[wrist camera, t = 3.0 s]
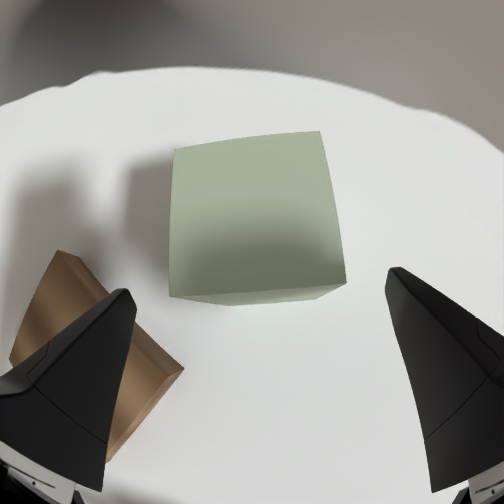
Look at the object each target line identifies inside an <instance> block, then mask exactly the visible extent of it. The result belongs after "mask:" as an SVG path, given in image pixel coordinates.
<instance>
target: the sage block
mask: <svg viewBox="0 0 504 504" xmlns="http://www.w3.org/2000/svg"><path fill="white" fill-rule="evenodd" d="M346 283H347V282H346V273H345V264H344V256H343V249H342V242H341V235H340V228H339V222H338V216H337V210H336V204H335V199H334V193H333V188H332V183H331V178H330V173H329V168H328V164H327V159H326V155H325V150H324V146H323V142H322V138H321V134H320V131H313V132H296V133H283V134H272V135H263V136H254V137H246V138H238V139H231V140H224V141H218V142H211V143H205V144H200V145H194V146H189V147H184V148H179V149H174V160H173V172H172V187H171V205H170V231H169V296H170V297H175V298H181V299H187V300H193V301H199V302H205V303H212V304H219V305H225V306H236V305H252V304H267V303H279V302H291V301H302V300H313V299H317V298H319V297H321V296H323V295H325V294H327V293H329V292H331V291H333V290H335V289H337V288H338V287H340V286H342V285H344V284H346Z"/></svg>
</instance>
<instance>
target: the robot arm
mask: <svg viewBox="0 0 504 504" xmlns="http://www.w3.org/2000/svg"><path fill="white" fill-rule="evenodd" d="M385 295H386V299H387V302H388V306H389V310H390V315H391V319H392V323H393V327H394V331H395V335H396V338H397V341H398V344H399V347H400V350H401V353H402V356H403V359H404V363H405V366H406V369H407V373H408V376H409V380H410V383H411V387H412V391H413V394H414V398H415V402H416V406H417V410H418V415H419V419H420V424H421V428H422V433H423V438H424V444H425V450H426V455H427V462H428V468H429V476H430V484H431V491H432V493H435V492H437V491H440V490H443V489H446V488H448V487H451V486H453V485H456V484H458V483H461V482H463V481H465V480H468V484H469V486H468V487H466V488H464V489H462V490H460V491H459V493H458V495H457V496H456V498H455V500H454V501H453V503H452V504H504V336H502V335H501V334H499V333H498V332H496V331H495V330H493V329H492V328H491V327H489V326H488V325H486V324H485V323H484V322H482V321H481V320H480V319H478V318H476V317H475V316H474V315H473V314H471V313H470V312H468V311H467V310H466V309H464V308H463V307H461V306H460V305H458V304H457V303H456V302H454V301H453V300H451V299H450V298H448V297H447V296H445V295H444V294H442V293H441V292H439V291H438V290H436V289H435V288H433V287H432V286H430V285H429V284H427V283H426V282H424V281H423V280H421V279H420V278H418V277H416V276H415V275H413V274H412V273H410V272H409V271H407V270H405V269H404V268H402V267H393V268H390V269H389V271H388V275H387V280H386V285H385ZM136 313H137V307H136V304H135V302H134V300H133V298H132V296H131V294H130V292H129V290H128V289H126V288H120V289H116V290H115V291H113V292H112V293H111V294H109V295H108V296H106V297H105V298H104V299H102V300H101V301H100V302H98V303H97V304H96V305H94V306H93V307H92V308H90V309H89V310H88V311H86V312H85V313H84V314H82V315H81V316H80V317H79V318H77V319H76V320H75V321H73V322H72V323H71V324H69V325H68V326H67V327H66V328H64V329H63V330H62V331H61V332H59V333H58V334H57V335H55V336H54V337H53V338H52V339H51V340H50V341H48V342H47V343H45V344H44V345H43V346H42V347H40V348H39V349H38V350H37V351H35V352H34V353H33V354H32V355H30V356H29V357H27V358H26V359H25V360H23V361H22V362H21V363H19V364H18V365H17V366H15V367H14V368H13V369H11V370H10V371H9V372H7V373H6V374H4V375H2V376H0V504H85V503H84V501H83V499H82V497H81V495H80V493H79V492H78V491H76V490H74V489H75V485H76V483H78V484H80V485H83V486H85V487H88V488H90V489H93V490H95V491H98V492H102V487H103V478H104V470H105V462H106V456H107V449H108V442H109V437H110V431H111V426H112V420H113V415H114V411H115V406H116V401H117V397H118V392H119V388H120V384H121V380H122V376H123V372H124V368H125V364H126V360H127V356H128V353H129V349H130V344H131V339H132V334H133V328H134V323H135V318H136Z"/></svg>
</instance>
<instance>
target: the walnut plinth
mask: <svg viewBox="0 0 504 504" xmlns="http://www.w3.org/2000/svg"><path fill="white" fill-rule="evenodd" d="M108 295H109V293H108V292H107V291H106V290H105V288H104V287H103V286H102V285H101V284H100V283H99V281H98V280H97V279H96V278H95V277H94V275H93V274H92V273H91V272H90V271H89V269H88V268H87V267H86V266H85V264H84V263H83V262H82V260H81V259H80V258H79V257H77V256H74V255H71V254H68V253H65V252H62V251H59V250H57V252H56V253H55V255H54V257H53V259H52V261H51V262H50V264H49V266H48V268H47V270H46V272H45V274H44V276H43V278H42V279H41V281H40V284H39V286H38V288H37V290H36V292H35V294H34V296H33V298H32V300H31V303H30V305H29V307H28V309H27V312H26V314H25V316H24V319H23V321H22V324H21V326H20V329H19V332H18V334H17V337H16V340H15V342H14V345H13V348H12V351H11V354H10V357H9V360H10V362H11V364H12V366H13V368H14V367H15V366H17V365H18V364H19V363H21V362H22V361H23V360H25V359H26V358H27V357H29V356H30V355H32V354H33V353H34V352H35V351H37V350H38V349H39V348H40V347H42V346H43V345H44V344H45V343H47V342H48V341H50V340H51V339H52V338H53V337H54V336H55V335H57V334H58V333H59V332H61V331H62V330H63V329H64V328H66V327H67V326H68V325H69V324H71V323H72V322H73V321H75V320H76V319H77V318H79V317H80V316H81V315H82V314H84V313H85V312H86V311H88V310H89V309H90V308H92V307H93V306H94V305H96V304H97V303H98V302H100V301H101V300H102V299H104V298H105V297H106V296H108ZM183 370H184V368H183V367H182V366H181V365H180V364H179V363H178V362H176V361H175V360H174V359H173V358H172V357H171V356H170V355H169V354H168V353H166V352H165V351H164V350H163V349H162V348H161V347H160V346H159V345H158V344H157V343H156V342H155V341H154V340H153V339H152V338H151V337H150V336H149V335H148V334H147V333H146V332H145V331H144V330H143V329H142V328H141V327H140V326H139V325H138V324H137V323H136V322H135V323H134V328H133V334H132V339H131V344H130V349H129V353H128V356H127V360H126V364H125V368H124V372H123V376H122V380H121V384H120V388H119V392H118V397H117V401H116V406H115V411H114V415H113V420H112V426H111V431H110V437H109V442H108V449H107V456H106V462H105V464H106V463H107V462H109V461H110V460H111V458H112V457H113V456H114V455H115V454H116V453H117V451H118V450H119V449H120V448H121V447H122V445H123V444H124V443H125V442H126V441H127V439H128V438H129V437H130V436H131V434H132V433H133V432H134V431H135V430H136V428H137V427H138V426H139V425H140V424H141V422H142V421H143V420H144V419H145V417H146V416H147V415H148V414H149V412H150V411H151V410H152V409H153V408H154V406H155V405H156V404H157V403H158V401H159V400H160V399H161V398H162V396H163V395H164V394H165V393H166V391H167V390H168V389H169V388H170V386H171V385H172V384H173V383H174V381H175V380H176V379H177V378H178V376H179V375H180V374H181V373H182V371H183Z"/></svg>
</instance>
